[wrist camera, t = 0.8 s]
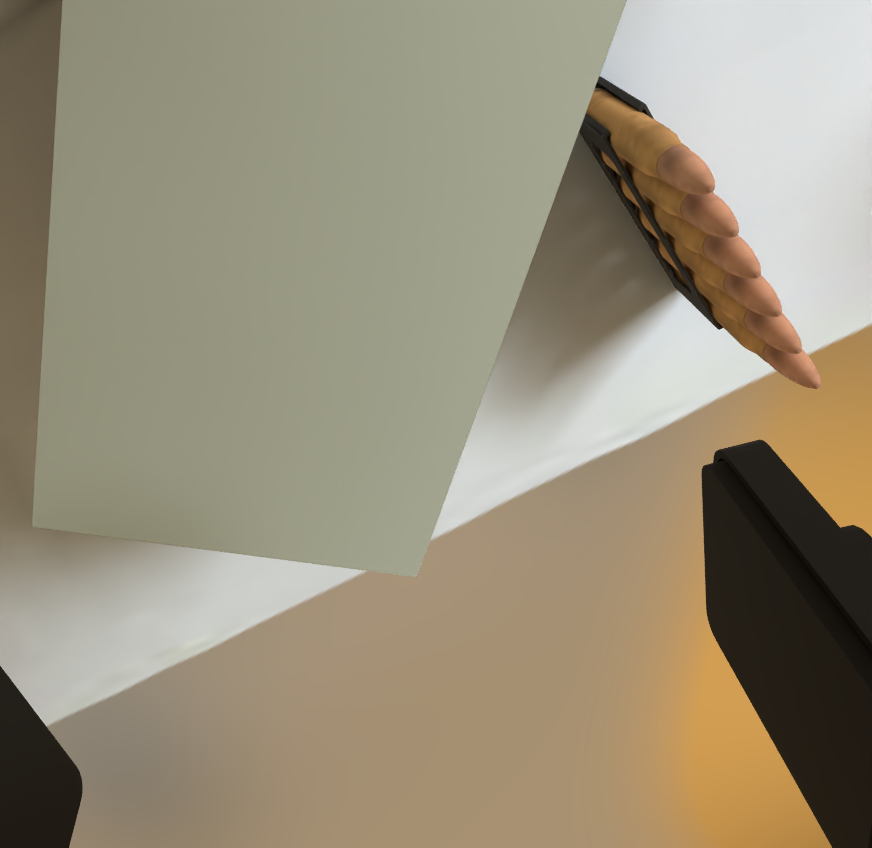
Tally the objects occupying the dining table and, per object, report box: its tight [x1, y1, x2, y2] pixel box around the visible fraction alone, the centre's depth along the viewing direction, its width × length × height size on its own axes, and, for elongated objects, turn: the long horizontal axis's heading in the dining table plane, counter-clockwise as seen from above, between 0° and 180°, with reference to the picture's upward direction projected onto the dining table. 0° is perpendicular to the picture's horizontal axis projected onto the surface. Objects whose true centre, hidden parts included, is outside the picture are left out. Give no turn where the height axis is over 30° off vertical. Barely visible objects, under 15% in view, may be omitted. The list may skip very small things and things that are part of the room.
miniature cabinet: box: [32, 0, 627, 577], centre depth 26 cm, size 18×12×16 cm, turn 163°
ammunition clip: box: [579, 76, 821, 389], centre depth 31 cm, size 11×2×12 cm, turn 36°
